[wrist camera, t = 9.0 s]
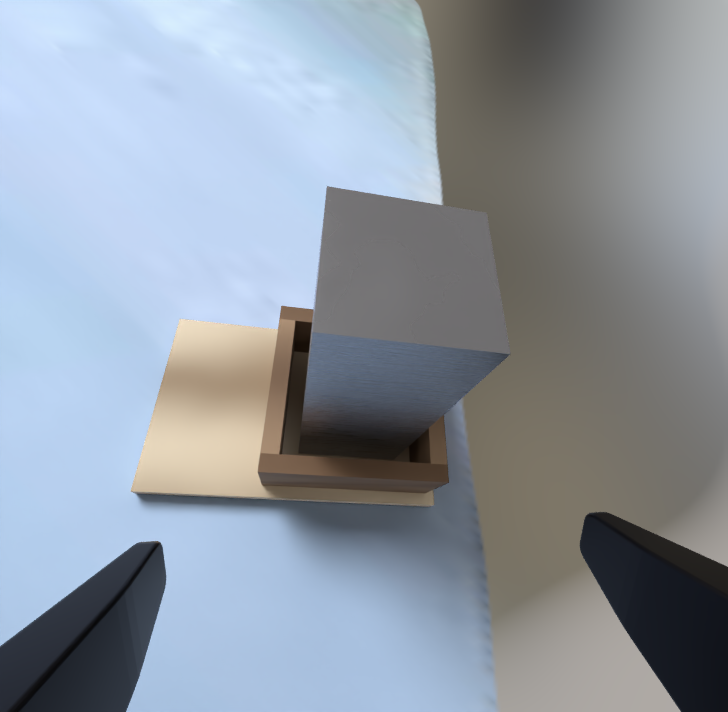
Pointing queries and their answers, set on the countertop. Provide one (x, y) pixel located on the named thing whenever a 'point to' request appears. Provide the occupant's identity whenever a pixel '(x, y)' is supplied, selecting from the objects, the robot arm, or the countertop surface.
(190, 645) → the countertop surface
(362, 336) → the post
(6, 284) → the countertop surface
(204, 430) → the stand
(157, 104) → the countertop surface
